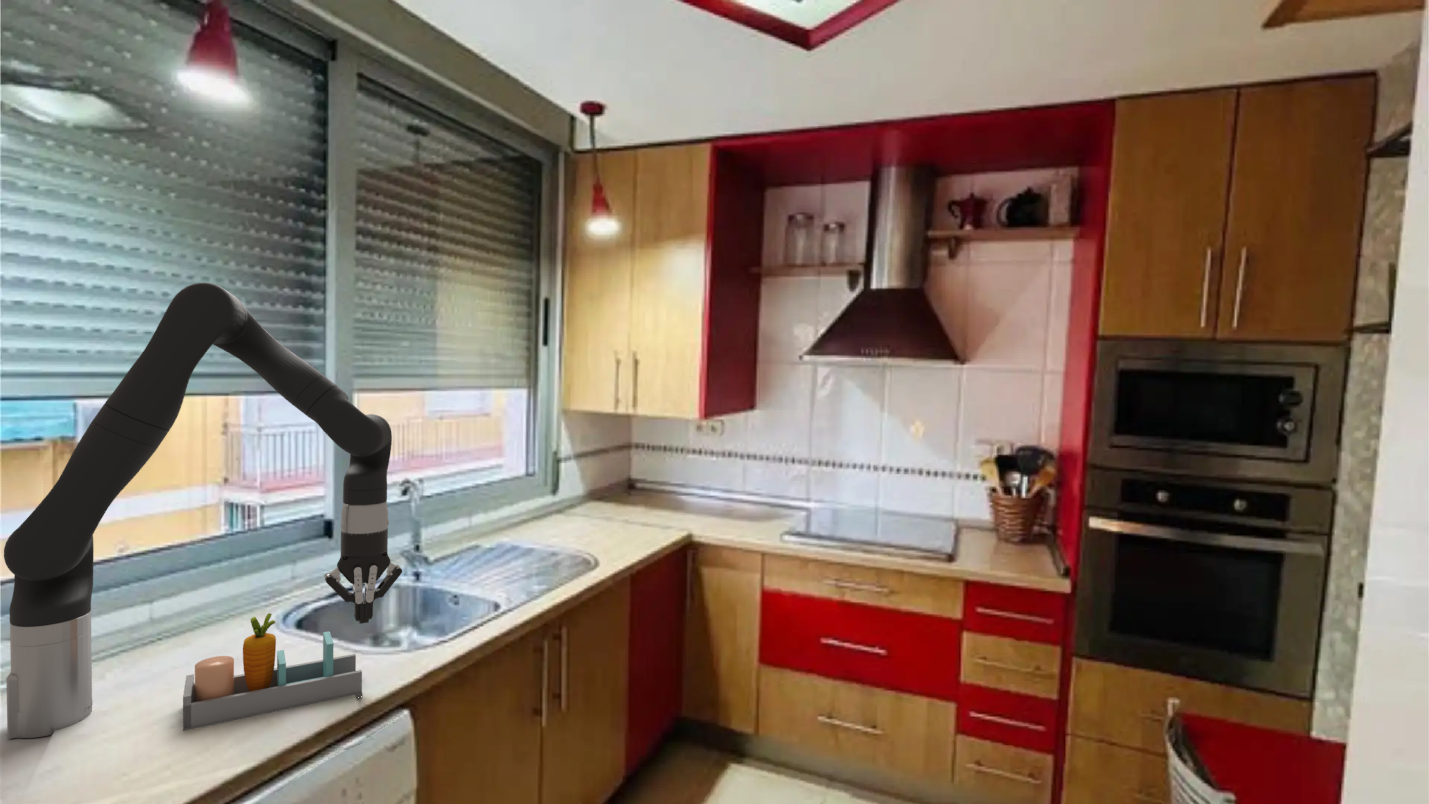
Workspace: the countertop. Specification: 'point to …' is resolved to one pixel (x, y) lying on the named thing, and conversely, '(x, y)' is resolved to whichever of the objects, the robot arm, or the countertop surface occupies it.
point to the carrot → (259, 655)
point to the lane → (274, 693)
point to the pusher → (326, 661)
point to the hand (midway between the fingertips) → (363, 621)
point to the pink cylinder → (214, 678)
